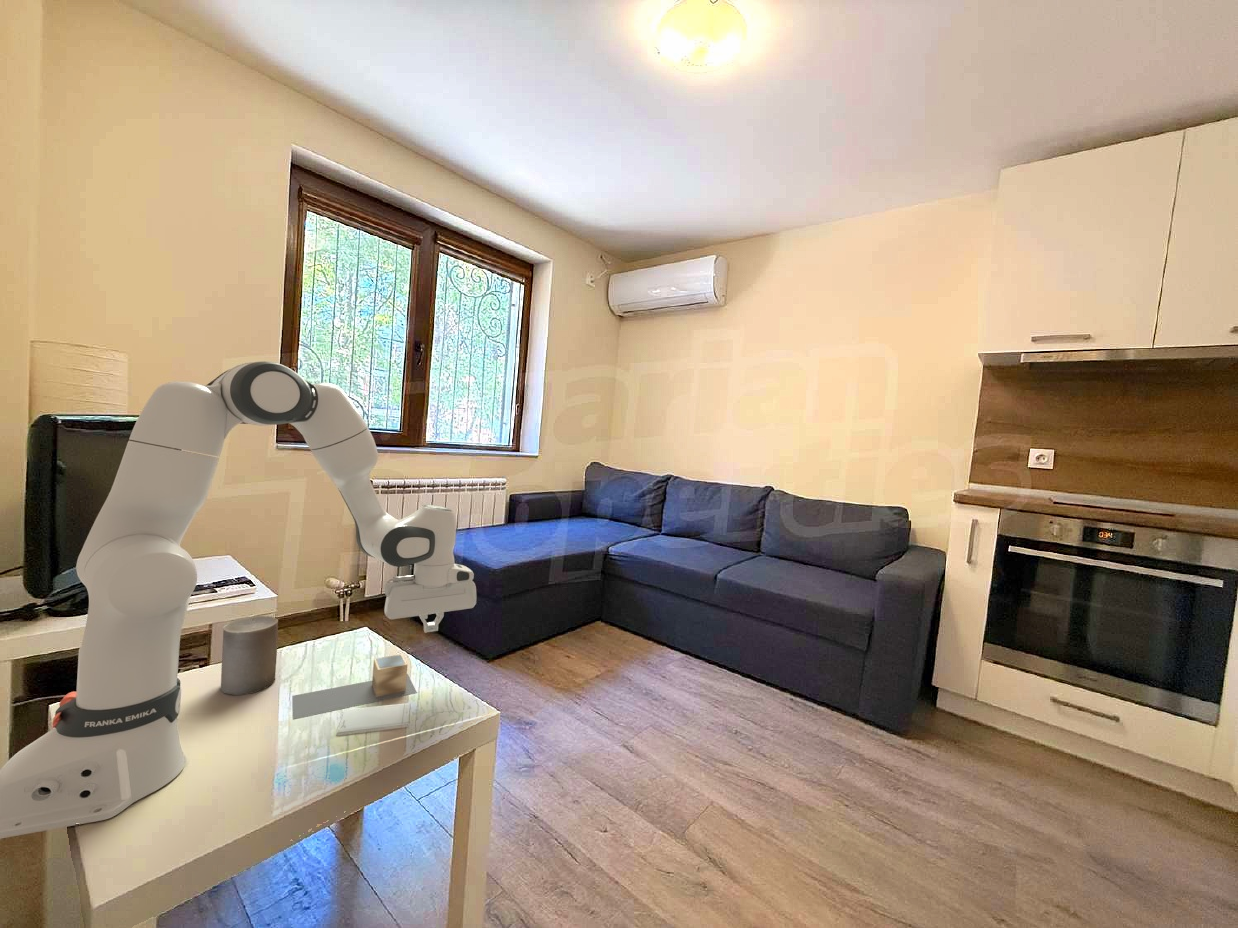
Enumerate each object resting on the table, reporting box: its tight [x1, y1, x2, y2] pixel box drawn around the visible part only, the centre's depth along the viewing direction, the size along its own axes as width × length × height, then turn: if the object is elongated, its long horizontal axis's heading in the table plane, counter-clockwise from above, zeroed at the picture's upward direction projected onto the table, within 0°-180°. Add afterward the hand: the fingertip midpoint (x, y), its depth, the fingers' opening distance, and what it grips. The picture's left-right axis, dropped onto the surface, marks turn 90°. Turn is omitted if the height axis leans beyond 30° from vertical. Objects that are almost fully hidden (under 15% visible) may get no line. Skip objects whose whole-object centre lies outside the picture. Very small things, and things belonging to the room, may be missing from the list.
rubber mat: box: [292, 673, 418, 721], centre depth 104 cm, size 23×10×1 cm, turn 125°
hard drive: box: [336, 702, 411, 736], centre depth 95 cm, size 2×8×12 cm
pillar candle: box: [220, 615, 279, 696], centre depth 104 cm, size 10×10×15 cm
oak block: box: [371, 653, 409, 697], centre depth 107 cm, size 6×6×6 cm
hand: (430, 630), depth 112 cm, fingers closed
